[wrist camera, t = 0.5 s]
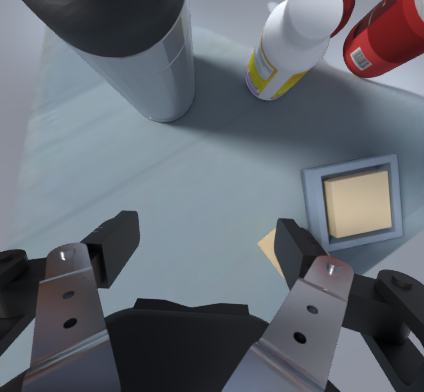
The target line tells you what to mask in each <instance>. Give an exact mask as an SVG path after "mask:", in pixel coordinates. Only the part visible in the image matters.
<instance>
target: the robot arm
mask: <svg viewBox="0 0 424 392" xmlns="http://www.w3.org/2000/svg"><path fill="white" fill-rule="evenodd" d="M22 1H23V2H24V3H25V4H26V5H27V6H28V7H29V8H30V9H31V10H32V11H33V12H34V13H35V14H36V15H37V16H38V17H39V18H40V19H41V20H42V21H43V22H44V23H45V24H46V25H47V26H48V27H49V28H50V29H51V30H53V31H54V32H55V33H56V34H57V35H58V36H59V37H60V38H61V39H62V40H63V41H64V42H65V43H66V44H67V45H68V46H69V47H70V48H71V49H73V50H74V51H75V52H76V53H77V54H78V55H79V56H80V57H81V58H82V59H83V60H84V61H86V62H87V63H88V64H89V65H90V66H91V67H92V68H93V69H94V70H95V71H96V72H97V73H98V74H99V75H100V76H101V77H103V78H104V79H105V80H106V81H107V82H108V83H109V84H110V85H111V86H112V87H113V88H114V89H115V90H116V91H117V92H118V93H120V94H121V95H122V96H123V97H124V98H125V99H126V100H127V101H128V102H129V103H130V104H131V105H132V106H133V107H134V108H136V109H137V110H138V111H139V112H140V113H141V114H142V115H143V116H145V117H146V118H148V119H150V120H153V121H156V122H170V121H174V120H176V119H178V118H180V117H182V116H183V115H184V114H185V113H186V112H187V111H188V109H189V108H190V107H191V105H192V102H193V100H194V95H195V78H194V61H193V46H192V31H191V16H190V5H189V0H22ZM139 241H140V231H139V220H138V213H137V212H136V211H121V212H120V213H119V214H118V215H117V216H115V217H114V218H112V219H110V220H108V221H105V222H104V223H102V224H101V225H100V226H99V227H98V228H96V229H95V230H94V231H93V232H92V233H90V234H89V235H88V236H87V237H86V238H84V239H83V240H82V241H81V242H80V243H69V244H65V245H62V246H59V247H57V248H55V249H53V250H52V251H51V252H50V253H49V254H48V255H47V257H46V258H39V259H31V260H28V258H27V254H26V252H25V251H24V250H21V249H14V250H7V251H3V252H0V356H1V355H2V354H3V353H4V352H5V351H6V349H7V348H8V347H9V346H10V345H11V344H12V343H13V342H14V340H15V339H16V338H17V337H18V336H19V335H20V334H21V333H22V331H23V330H24V329H25V328H26V327H27V326H28V325H29V324H30V322H31V321H32V320H33V319H34V318H35V326H34V335H33V344H32V353H31V362H30V367H29V368H28V369H27V370H25V371H24V372H22V373H21V374H19V375H18V376H16V377H15V378H13V379H12V380H10V381H9V382H7V383H6V384H5V385H3V386H2V387H0V392H340V391H339V390H338V389H337V388H336V387H335V386H334V385H333V384H332V383H331V382H330V381H329V380H328V376H329V372H330V368H331V363H332V360H333V356H334V353H335V349H336V345H337V341H338V337H339V333H340V329H341V326H342V327H345V328H348V329H351V330H354V331H357V332H360V333H361V335H362V336H363V338H364V340H365V342H366V343H367V345H368V346H369V348H370V350H371V351H372V353H373V355H374V356H375V358H376V360H377V361H378V363H379V365H380V366H381V368H382V370H383V371H384V373H385V375H386V376H387V378H388V380H389V381H390V383H391V385H392V386H393V388H394V390H395V391H396V392H424V357H423V355H422V354H421V353H420V351H419V350H418V349H417V348H416V347H415V345H414V344H413V343H412V342H411V341H410V339H409V338H408V336H409V334H410V331H412V332H413V333H414V334H415V336H416V337H417V338H418V339H419V340H420V342H421V344H422V346H423V348H424V285H423V284H422V283H420V282H419V281H417V280H416V279H414V278H412V277H410V276H408V275H406V274H404V273H401V272H398V271H393V270H381V271H379V273H378V276H377V278H376V279H373V278H369V277H365V276H361V275H357V274H354V270H353V268H352V267H351V266H350V265H349V264H348V263H346V262H345V261H343V260H341V259H338V258H335V257H332V256H329V255H328V254H327V253H326V251H325V250H324V249H323V248H322V246H321V245H320V244H318V242H317V240H316V239H315V238H314V237H313V236H312V234H311V233H310V232H308V231H307V230H305V229H303V228H299V226H298V225H297V224H296V222H295V221H294V220H293V219H285V218H279V219H278V221H277V226H276V232H275V239H274V253H275V256H276V258H277V261H278V263H279V265H280V268H281V270H282V273H283V275H284V277H285V280H286V282H287V285H288V287H289V290H290V292H289V294H288V296H287V297H286V299H285V300H284V302H283V304H282V305H281V307H280V308H279V310H278V311H277V313H276V315H275V316H274V318H273V319H272V321H271V323H270V324H269V323H267V322H266V321H264V320H262V319H260V318H258V317H256V316H253V315H250V314H249V310H248V305H244V304H227V303H218V304H212V305H205V306H199V307H187V306H184V305H180V304H177V303H173V302H170V301H167V300H159V299H142V298H137V301H136V303H135V305H134V307H133V308H128V309H124V310H121V311H118V312H115V313H113V314H111V315H109V316H107V317H105V318H104V315H103V311H102V307H101V302H100V298H99V294H98V290H97V289H98V288H107V289H109V288H110V286H111V285H112V283H113V282H114V281H115V279H116V278H117V276H118V275H119V273H120V272H121V270H122V269H123V267H124V266H125V264H126V263H127V261H128V260H129V259H130V257H131V256H132V254H133V253H134V251H135V250H136V248H137V247H138V245H139Z"/></svg>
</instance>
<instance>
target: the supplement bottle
mask: <svg viewBox="0 0 424 392" xmlns="http://www.w3.org/2000/svg"><path fill="white" fill-rule="evenodd" d="M342 14H343V0H286V1H284V2H282V3H281V4H279V5H278V6H277V7H276V8H275V9H274V10H273V12H272V13H271V14H270V16H269V18H268V20H267V22H266V24H265V26H264V29H263V31H262V33H261V36H260V38H259V40H258V42H257V45H256V47H255V49H254V52H253V54H252V56H251V59H250V61H249V63H248V66H247V70H246V82H247V85H248V87H249V89H250V91H251V92H252V93H253V94H254V95H255V96H256V97H258V98H260V99H263V100H274V99H277V98H279V97H281V96H282V95H283V94H285V93H286V92H287V91H288V90H289V89H290V88H291V87H292V86H293V85H294V84H295V83H296V82H297V81H299V80H300V79H301V78H302V77H303V76H304V75H305V74H306V73H307V72H308V71H309V70H310V69H311V68H312V67H314V66H315V65H316V64H317V63H318V62H319V61H320V59H321V58H322V57H323V55H324V54H325V52H326V50H327V47H328V44H329V41H330V35H331V34H332V33H333V32H334V31H335V29H336V28H337V27H338V25H339V23H340V21H341V18H342Z"/></svg>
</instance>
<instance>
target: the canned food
mask: <svg viewBox="0 0 424 392" xmlns="http://www.w3.org/2000/svg"><path fill="white" fill-rule="evenodd" d="M423 53H424V0H382V1H381V2H379V4H377V5H376V6H375V7H374V8H373V9H372V10H371V11H370V12H369V13H368V14H367V15H366V16H365V17H364V18H363V19H362V20H360V21H359V22H358V23H357V24H356V25H355V26H354V27H353V28H352V30H351V31H350V33H349V34H348V36H347V38H346V40H345V42H344V46H343V57H344V61H345V64H346V65H347V67H348V69H349V70H350V71H351V72H352V73H353V74H355V75H356V76H359V77H363V78H372V77H377V76H380V75H382V74H384V73H386V72H388V71H390V70H392V69H394V68H396V67H398V66H400V65H402V64H403V63H406V62H407V61H409V60H411V59H413V58H415V57H417V56H419V55H421V54H423Z"/></svg>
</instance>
